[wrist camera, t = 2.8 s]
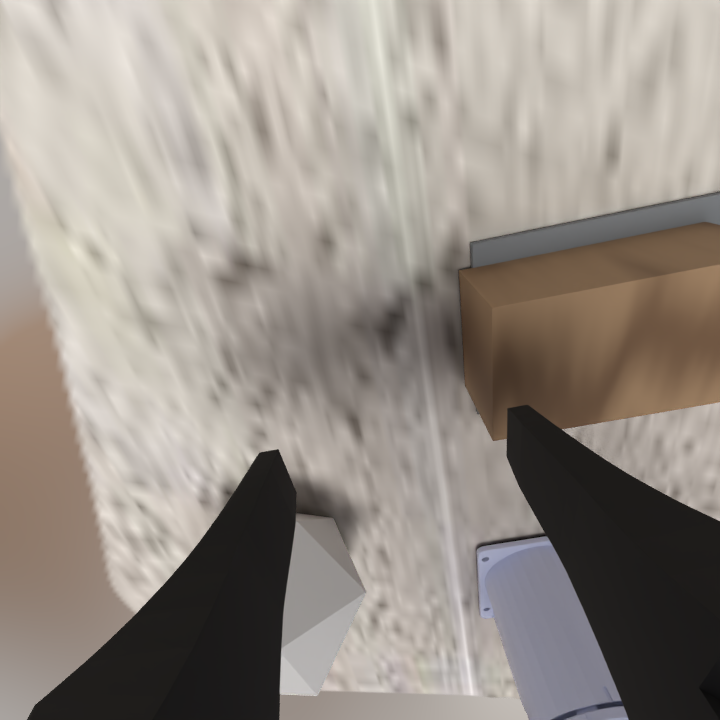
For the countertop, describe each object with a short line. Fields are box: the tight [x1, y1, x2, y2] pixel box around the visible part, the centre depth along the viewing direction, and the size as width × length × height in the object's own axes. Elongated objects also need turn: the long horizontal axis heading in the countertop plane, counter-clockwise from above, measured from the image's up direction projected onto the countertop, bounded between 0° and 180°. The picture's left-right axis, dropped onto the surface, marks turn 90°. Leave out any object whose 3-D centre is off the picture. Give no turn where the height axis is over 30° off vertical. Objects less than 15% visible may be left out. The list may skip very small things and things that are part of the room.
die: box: [280, 513, 366, 696], centre depth 21 cm, size 8×9×10 cm
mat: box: [470, 192, 720, 414], centre depth 17 cm, size 9×11×1 cm
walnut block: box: [459, 222, 720, 441], centre depth 15 cm, size 6×4×10 cm
